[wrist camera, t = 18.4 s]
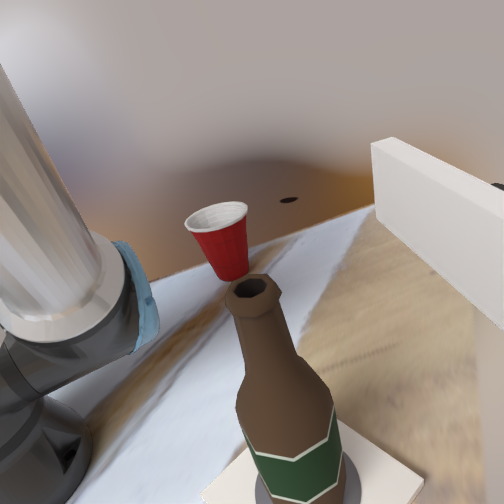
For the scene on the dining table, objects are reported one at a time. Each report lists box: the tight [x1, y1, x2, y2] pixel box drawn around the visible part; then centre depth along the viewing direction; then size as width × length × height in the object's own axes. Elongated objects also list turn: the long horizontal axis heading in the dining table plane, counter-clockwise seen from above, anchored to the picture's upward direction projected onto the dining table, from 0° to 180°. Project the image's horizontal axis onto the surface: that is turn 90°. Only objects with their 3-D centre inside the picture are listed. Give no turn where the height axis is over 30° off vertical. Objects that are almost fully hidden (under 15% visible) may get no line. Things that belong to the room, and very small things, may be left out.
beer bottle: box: [225, 274, 346, 504], centre depth 33 cm, size 8×8×24 cm
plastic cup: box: [185, 202, 249, 281], centre depth 72 cm, size 11×11×12 cm
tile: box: [200, 419, 424, 504], centre depth 40 cm, size 15×15×1 cm
